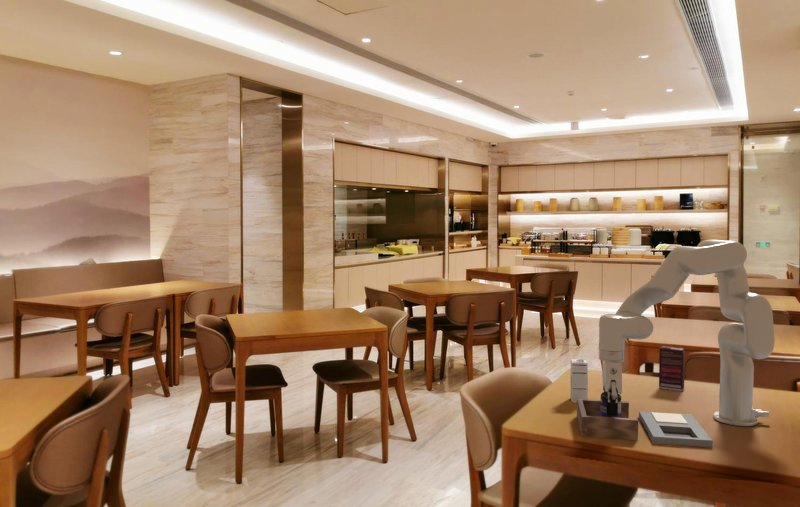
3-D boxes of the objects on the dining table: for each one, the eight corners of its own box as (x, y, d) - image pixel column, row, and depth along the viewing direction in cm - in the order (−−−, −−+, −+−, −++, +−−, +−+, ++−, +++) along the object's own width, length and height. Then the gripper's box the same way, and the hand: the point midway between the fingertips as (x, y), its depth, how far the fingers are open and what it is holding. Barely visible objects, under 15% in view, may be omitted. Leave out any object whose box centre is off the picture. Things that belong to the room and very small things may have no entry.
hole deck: (691, 420, 200) (691, 413, 200) (712, 447, 177) (712, 439, 176) (638, 417, 203) (639, 410, 203) (653, 443, 180) (653, 435, 180)
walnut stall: (627, 419, 201) (628, 401, 200) (637, 440, 182) (638, 420, 182) (576, 416, 204) (577, 398, 204) (581, 436, 185) (581, 416, 185)
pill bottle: (596, 418, 195) (596, 384, 194) (612, 416, 197) (613, 382, 196) (608, 425, 189) (608, 389, 188) (625, 423, 191) (625, 387, 190)
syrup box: (588, 403, 218) (588, 362, 217) (570, 402, 219) (571, 362, 219) (586, 398, 224) (587, 359, 223) (569, 397, 225) (570, 358, 224)
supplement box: (684, 388, 237) (685, 348, 236) (682, 391, 232) (683, 350, 231) (660, 385, 241) (661, 345, 240) (658, 388, 237) (659, 347, 236)
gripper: (628, 361, 182) (627, 421, 183) (620, 349, 199) (619, 404, 200) (602, 360, 184) (601, 419, 185) (596, 348, 201) (595, 402, 202)
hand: (610, 411), depth 193 cm, fingers closed on pill bottle, 6 cm apart
